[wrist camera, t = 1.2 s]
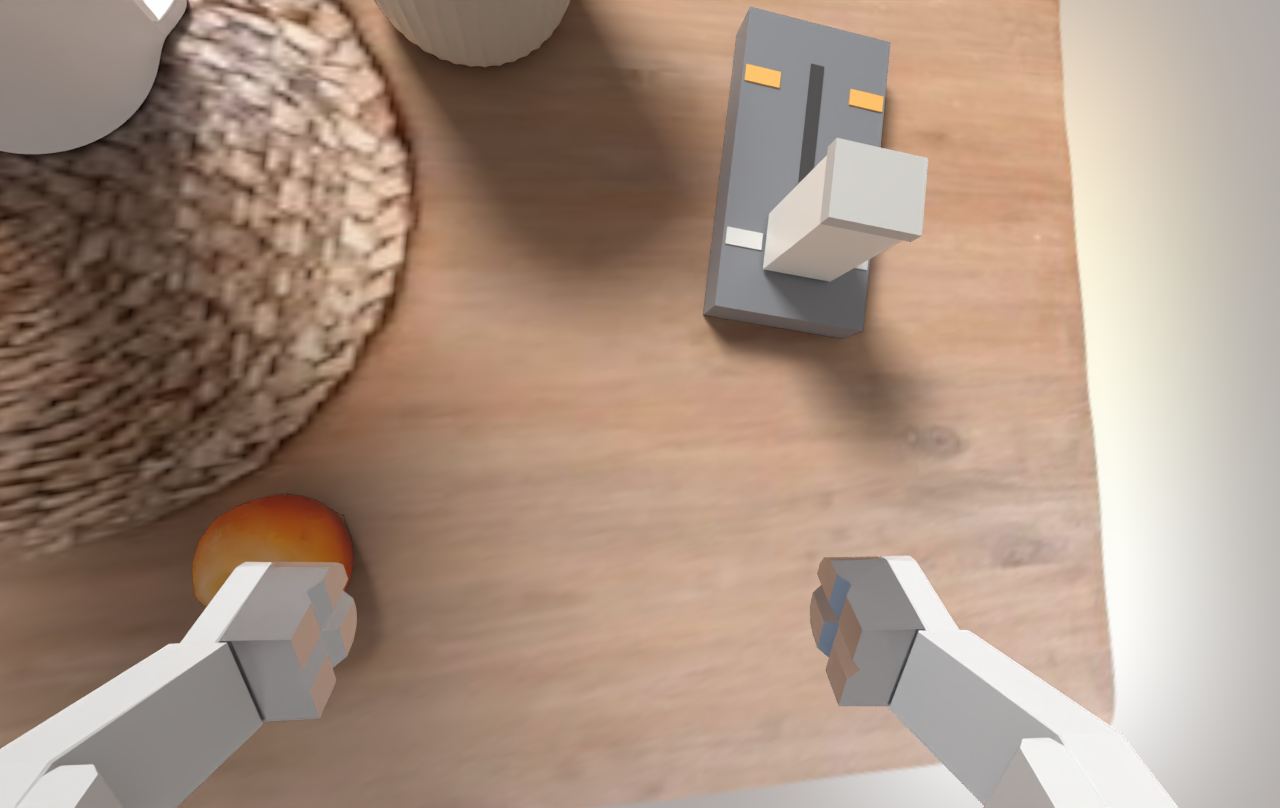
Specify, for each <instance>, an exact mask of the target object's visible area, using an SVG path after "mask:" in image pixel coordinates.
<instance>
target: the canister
mask: <svg viewBox="0 0 1280 808" xmlns="http://www.w3.org/2000/svg"><path fill="white" fill-rule="evenodd" d="M374 1H375V2H376V4H377V6H378V7H379V9H380V10H381V11H382V13H383V14H384V15H385V16H386V17H387V18H388V19H389V21H390V22H391V23H392V25H393V26H394V27H395V28H396V29H397V30H398V31H399V32H401V33H403V34H404V36H405V37H406V38H407V39H408V40H409V41H410V42H412V43H413V44H416V45H418V46H419V47H420V48H421V49H422V50H423V51H425V52H427V53H431V54H433V55H435V56H436V57H438V58H439V59H441V60H448V61H450V62H452V63H453V64H463V65H467V66H469V67H473V66H482V67H488V66H493V65H497V66H501V65H502V64H504V63H507V62H515V61H516V60H517V59H519V58H521V57H526V56H527V55H528V54H529V53H530V52H531V51H533V50H536V49H538V48H539V47H540V46H541V44H542V43H543V42H544V41H545V40H547V39H548V38H550V36H551V35H552V33H553V31H554V29H555V28H557V27H558V25H559V24H560V22H561V20H562V18H563V15H564V13H565V11H566V10H567V8H568V5H569V3H570V0H374Z"/></svg>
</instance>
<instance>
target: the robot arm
mask: <svg viewBox="0 0 1280 808" xmlns="http://www.w3.org/2000/svg"><path fill="white" fill-rule="evenodd" d="M186 5H187V0H0V151H3V152H9V153H17V154H48V153H56V152H62V151H67V150H71V149H75V148H78V147H81V146H84V145H87V144H89V143H92V142H94V141H96V140H98V139H100V138H102V137H104V136H106V135H108V134H109V133H111V132H112V131H114V130H115V129H117V128H118V127H119V126H121V125H122V124H123V123H124V122H126V121H127V120H128V119H129V118H130V117H131V116H132V115H133V114H134V113H135V112H136V110H137V109H138V108H139V107H140V106H141V104H142V103H143V101H144V100H145V98H146V97H147V95H148V93H149V92H150V90H151V87H152V85H153V83H154V80H155V78H156V74H157V71H158V66H159V61H160V56H161V51H162V47H163V43H164V41H165V38H166V37H167V36H168V34H169V33H170V32H171V31H172V29H173V28H174V27H175V25H176V24H177V23H178V21H179V20H180V19H181V17H182V15H183V14H184V12H185V9H186ZM817 575H818V577H819V580H820V582H821V586H820V587H819V588H817V589H816V590H815V591H814V592H813V594H812V599H811V604H810V623H811V628H812V633H813V636H814V639H815V642H816V645H817V648H818V649H820V650H821V651H822V652H823V653H824V654H825V655H827V656H828V657H829V659H828V663H827V667H826V673H827V676H828V678H829V681H830V684H831V686H832V689H833V692H834V694H835V697H836V700H837V703H838V705H839V706H890V707H889V709H890V710H891V711H892V712H893V714H894V715H895V716H896V717H897V718H898V719H899V720H900V721H901V722H902V723H903V724H904V725H905V726H906V727H907V728H908V729H909V730H910V731H911V732H912V733H913V734H914V735H915V736H916V737H917V738H918V739H919V740H920V741H921V742H922V743H923V744H924V745H925V746H926V747H927V748H928V749H929V750H930V751H931V752H932V753H933V754H934V755H935V756H936V757H937V758H938V759H939V760H940V761H941V762H942V763H943V764H944V765H945V767H946V768H947V769H948V770H949V771H950V772H951V773H952V774H953V775H955V777H956V778H957V779H958V780H959V781H960V782H961V783H962V784H963V785H964V786H965V787H966V788H967V789H968V790H969V791H970V792H971V793H972V794H973V795H974V796H975V797H976V798H977V799H978V800H979V801H980V802H981V803H982V804H983V805H984V808H1178V806H1177V805H1176V804H1175V802H1174V801H1173V800H1172V799H1171V797H1170V796H1169V795H1168V793H1167V792H1166V791H1165V790H1164V788H1163V787H1162V785H1161V784H1160V783H1159V782H1158V780H1157V779H1156V778H1155V776H1154V775H1153V774H1152V773H1151V771H1150V770H1149V769H1148V767H1147V766H1146V765H1145V763H1144V762H1143V761H1142V760H1141V758H1140V757H1139V756H1138V754H1137V753H1136V752H1135V750H1134V749H1133V748H1132V747H1131V745H1130V744H1129V743H1128V741H1127V740H1126V739H1125V737H1124V736H1123V735H1122V734H1121V733H1120V732H1118V731H1117V730H1115V729H1114V728H1112V727H1111V726H1109V725H1108V724H1107V723H1105V722H1104V721H1102V720H1101V719H1099V718H1098V717H1096V716H1095V715H1093V714H1092V713H1090V712H1089V711H1087V710H1086V709H1084V708H1083V707H1081V706H1080V705H1078V704H1077V703H1075V702H1074V701H1072V700H1071V699H1070V698H1068V697H1067V696H1065V695H1064V694H1062V693H1061V692H1059V691H1058V690H1056V689H1055V688H1053V687H1052V686H1050V685H1049V684H1047V683H1046V682H1044V681H1043V680H1041V679H1040V678H1038V677H1037V676H1036V675H1034V674H1033V673H1031V672H1030V671H1028V670H1027V669H1025V668H1024V667H1022V666H1021V665H1019V664H1018V663H1016V662H1015V661H1013V660H1012V659H1010V658H1009V657H1007V656H1006V655H1004V654H1003V653H1001V652H1000V651H999V650H997V649H996V648H994V647H993V646H991V645H990V644H988V643H987V642H985V641H984V640H982V639H981V638H979V637H978V636H976V635H975V634H973V633H972V632H970V631H969V630H959V628H958V627H957V625H956V624H955V622H954V620H953V619H952V617H951V616H950V614H949V613H948V611H947V609H946V608H945V606H944V605H943V603H942V602H941V600H940V598H939V597H938V595H937V594H936V592H935V590H934V589H933V587H932V586H931V584H930V583H929V581H928V579H927V578H926V576H925V575H924V573H923V572H922V570H921V568H920V567H919V565H918V564H917V562H916V561H915V559H913V558H912V557H910V556H881V557H877V556H876V557H824V558H823V560H822V561H821V563H820V565H819V569H818V573H817ZM347 581H348V577H347V574H346V571H345V568H344V565H343V564H340V563H337V562H244V563H243V564H241V565H239V566H238V567H236V568H235V569H234V571H233V572H232V573H231V575H230V576H229V577H228V579H227V580H226V581H225V583H224V584H223V586H222V587H221V588H220V590H219V591H218V592H217V594H216V595H215V596H214V598H213V599H212V600H211V602H210V603H209V604H208V606H207V607H206V608H205V610H204V611H203V612H202V614H201V615H200V617H199V618H198V619H197V621H196V622H195V623H194V625H193V626H192V627H191V629H190V630H189V631H188V633H187V634H186V635H185V637H184V638H183V639H182V641H181V642H180V643H173V644H168V645H166V646H165V647H163V648H162V649H160V650H158V651H157V652H155V653H154V654H152V655H150V656H149V657H147V658H146V659H144V660H142V661H141V662H139V663H138V664H136V665H134V666H133V667H131V668H129V669H128V670H126V671H125V672H123V673H121V674H120V675H118V676H117V677H115V678H113V679H112V680H110V681H109V682H107V683H105V684H104V685H102V686H101V687H99V688H97V689H96V690H94V691H92V692H91V693H89V694H88V695H86V696H84V697H83V698H81V699H80V700H78V701H76V702H75V703H73V704H72V705H70V706H68V707H67V708H65V709H64V710H62V711H60V712H59V713H57V714H56V715H54V716H52V717H51V718H49V719H47V720H46V721H44V722H43V723H41V724H39V725H38V726H36V727H35V728H33V729H31V730H30V731H28V732H27V733H25V734H23V735H22V736H20V737H19V738H17V739H15V740H14V741H12V742H11V743H9V744H7V745H6V746H4V747H2V748H1V749H0V808H176V807H177V806H178V805H179V804H180V803H181V802H182V801H184V800H185V799H186V798H187V797H188V796H189V795H190V794H191V793H192V792H193V791H194V790H195V789H196V788H197V787H198V786H199V785H200V784H201V783H202V782H204V781H205V780H206V779H207V778H208V777H209V776H210V775H211V774H212V773H213V772H214V771H215V770H216V769H217V768H218V767H219V766H220V765H221V764H223V763H224V762H225V761H226V760H227V759H228V758H229V757H230V756H231V755H232V754H233V753H234V752H235V751H236V750H237V749H238V748H239V747H240V746H241V745H243V744H244V743H245V742H246V741H247V740H248V739H249V738H250V737H251V736H252V735H253V734H254V733H255V732H256V731H257V730H258V729H259V728H260V727H261V726H263V722H265V721H284V720H303V719H320V717H321V715H322V712H323V710H324V708H325V706H326V703H327V701H328V699H329V697H330V694H331V692H332V690H333V688H334V685H335V683H336V681H337V680H336V677H335V674H334V671H333V667H335V666H336V665H337V664H338V663H340V662H341V661H342V660H343V659H344V658H346V657H347V656H348V653H349V651H350V648H351V646H352V643H353V641H354V636H355V631H356V625H357V611H356V606H355V602H354V599H353V598H352V597H351V596H350V595H348V594H347V593H346V592H345V591H343V589H344V587H345V585H346V583H347Z"/></svg>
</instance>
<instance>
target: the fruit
mask: <svg viewBox="0 0 1280 808" xmlns="http://www.w3.org/2000/svg"><path fill="white" fill-rule="evenodd" d="M343 516H344V515H340V514H338V513H337V512H334V511H333V510H332V509H330V508H328V507H327V506H326V505H324V504H322V503H321V502H319V501H317V500H314V499H311V498H308V497H304V496H299V495H287V493H285V494H280V495H273V496H268V497H264V498H260V499H256V500H253V501H249V502H247V503H244V504H242V505H239V506H237V507H235V508H233V509H231V510H230V511H228V512H226V513H224V514H222V515H221V516H219V517H218V518H217V519H216V520H215V521H213V522H212V524H211V525H210V527H209V528H208V529H207V531H206V532H205V533H204V535H203V536H202V537H201V538H200V540H199V544H198V547H197V549H196V552H195V556H194V560H193V565H192V568H193V569H192V577H193V587H194V594H195V596H196V598H197V599H198V600H199V601H200V602H201V603H202V604H203V605H205V606H206V607H207V606H208V604H209V603H210V602H211V600H212V599H213V598H214V596H215V595H216V594H217V592H218V591H219V590H220V588H221V587H222V586H223V584H224V583H225V581H226V580H227V579H228V577H229V576H230V575H231V573H232V572H233V571H234V569H235V568H236V567H238V566H239V565H241V564H243V563H244V562H337V563H340V564H343V565H344V568H345V571H346V574H347V577H348V581H347V583H346V585H345V587H344V589H343V591H345V590H346V588H347V586H348V584H349V582H350V578H351V575H352V569H353V546H352V540H351V536H350V534H349V530H348V529H347V527H346V525H345V523H344V517H343Z"/></svg>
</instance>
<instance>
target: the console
mask: <svg viewBox="0 0 1280 808" xmlns="http://www.w3.org/2000/svg"><path fill="white" fill-rule="evenodd" d="M889 52H890V42H886V41H882V40H879V39H875V38H871V37H867V36H863V35H859V34H855V33H851V32H847V31H843V30H839V29H836V28H832V27H828V26H824V25H820V24H816V23H812V22H808V21H804V20H800V19H796V18H792V17H789V16H785V15H781V14H777V13H773V12H769V11H765V10H761V9H757V8H753V7H750V8H749V10H748V12H747V14H746V16H745V18H744V21H743V23H742V25H741V27H740V29H739V31H738V33H737V36H736V44H735V52H734V61H733V69H732V77H731V86H730V94H729V102H728V111H727V119H726V127H725V136H724V144H723V152H722V161H721V169H720V177H719V186H718V194H717V202H716V211H715V219H714V227H713V236H712V244H711V253H710V261H709V269H708V278H707V286H706V294H705V303H704V311H703V315H706V316H712V317H718V318H724V319H730V320H736V321H742V322H748V323H754V324H760V325H765V326H771V327H777V328H783V329H789V330H795V331H801V332H807V333H813V334H818V335H824V336H830V337H836V338H845V337H848V336H851V335H854V334H856V333H859V332H862V331H863V329H864V318H865V308H866V297H867V286H868V276H869V265H870V259H869V260H868V261H866V262H864V263H862V264H860V265H859V266H857V267H855V268H853V269H852V270H850V271H848V272H846V273H845V274H843V275H841V276H839V277H838V278H836V279H834V280H832V281H831V282H829V281H824V280H818V279H813V278H807V277H802V276H797V275H791V274H786V273H780V272H775V271H770V270H764V269H763V263H764V254H765V245H766V236H767V227H768V218H769V213H770V212H771V211H772V210H773V209H774V208H775V207H776V206H777V205H778V204H779V203H780V202H781V201H782V200H783V199H784V198H785V197H786V196H787V195H788V194H789V193H790V192H791V191H792V190H793V189H794V188H795V187H796V186H797V185H798V184H799V183H800V182H801V181H802V180H803V179H804V178H805V177H806V176H807V175H808V174H809V173H810V172H811V171H812V170H813V169H814V168H815V167H816V166H817V165H818V164H819V163H820V162H821V161H822V160H823V159H824V158H825V157H826V156H827V150H828V146H829V145H830V144H831V143H832V142H833V141H834V140H835V139H836V138H840V139H845V140H849V141H854V142H858V143H863V144H867V145H872V146H876V147H880V148H881V138H882V127H883V116H884V106H885V95H886V84H887V74H888V63H889Z"/></svg>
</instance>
